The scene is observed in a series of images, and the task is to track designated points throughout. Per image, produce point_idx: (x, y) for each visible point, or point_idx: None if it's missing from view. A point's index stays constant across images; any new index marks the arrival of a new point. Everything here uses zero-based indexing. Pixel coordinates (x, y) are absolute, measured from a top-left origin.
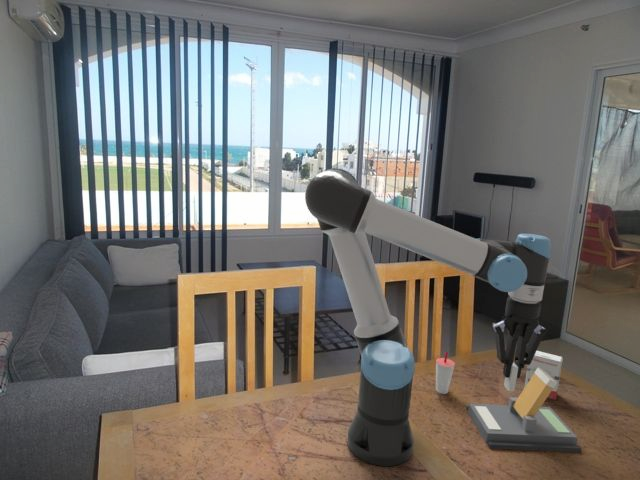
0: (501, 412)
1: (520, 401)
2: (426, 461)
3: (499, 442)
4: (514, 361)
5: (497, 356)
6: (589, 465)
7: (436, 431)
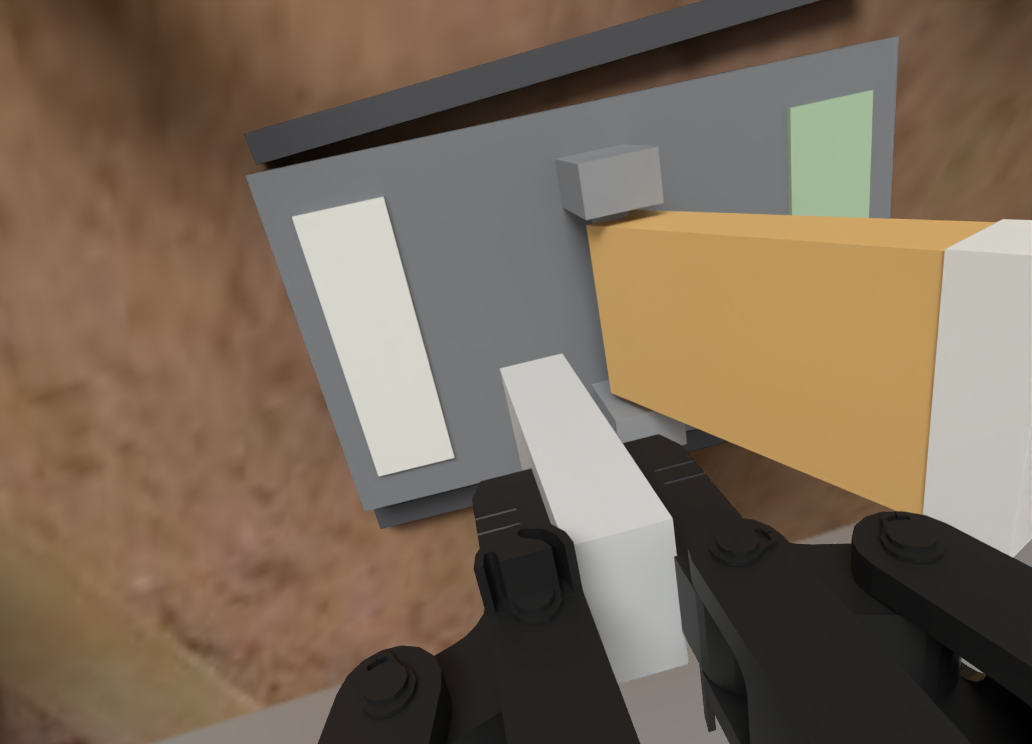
0: (494, 240)
1: (644, 280)
2: (73, 698)
3: (436, 497)
4: (689, 541)
5: (332, 732)
6: (827, 486)
7: (74, 467)
